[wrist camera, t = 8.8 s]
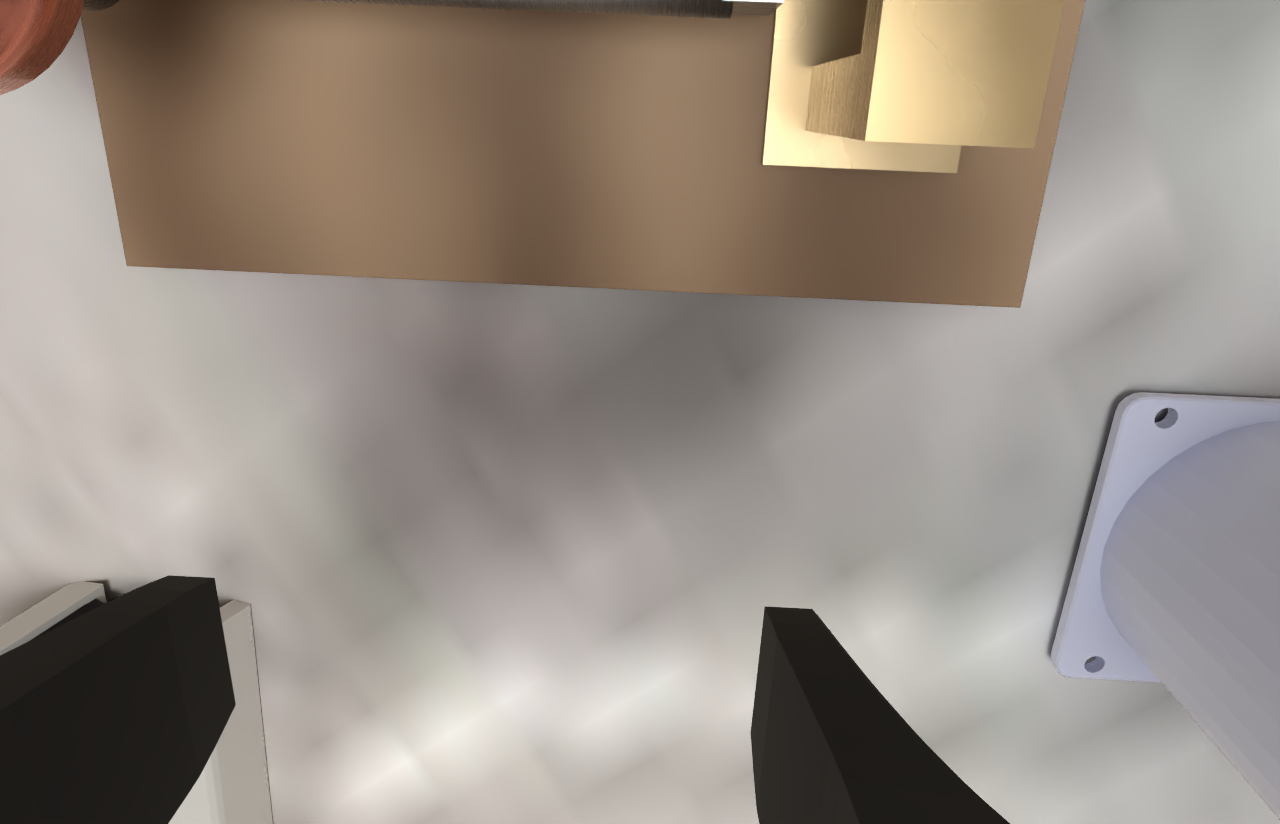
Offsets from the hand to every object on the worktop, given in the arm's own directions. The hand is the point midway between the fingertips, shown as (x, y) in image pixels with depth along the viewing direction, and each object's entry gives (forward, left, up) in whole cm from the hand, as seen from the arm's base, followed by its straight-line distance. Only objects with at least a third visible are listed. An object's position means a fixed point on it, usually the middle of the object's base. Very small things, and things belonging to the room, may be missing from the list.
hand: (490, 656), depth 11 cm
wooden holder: (-6, -9, -9) cm, 14 cm away
